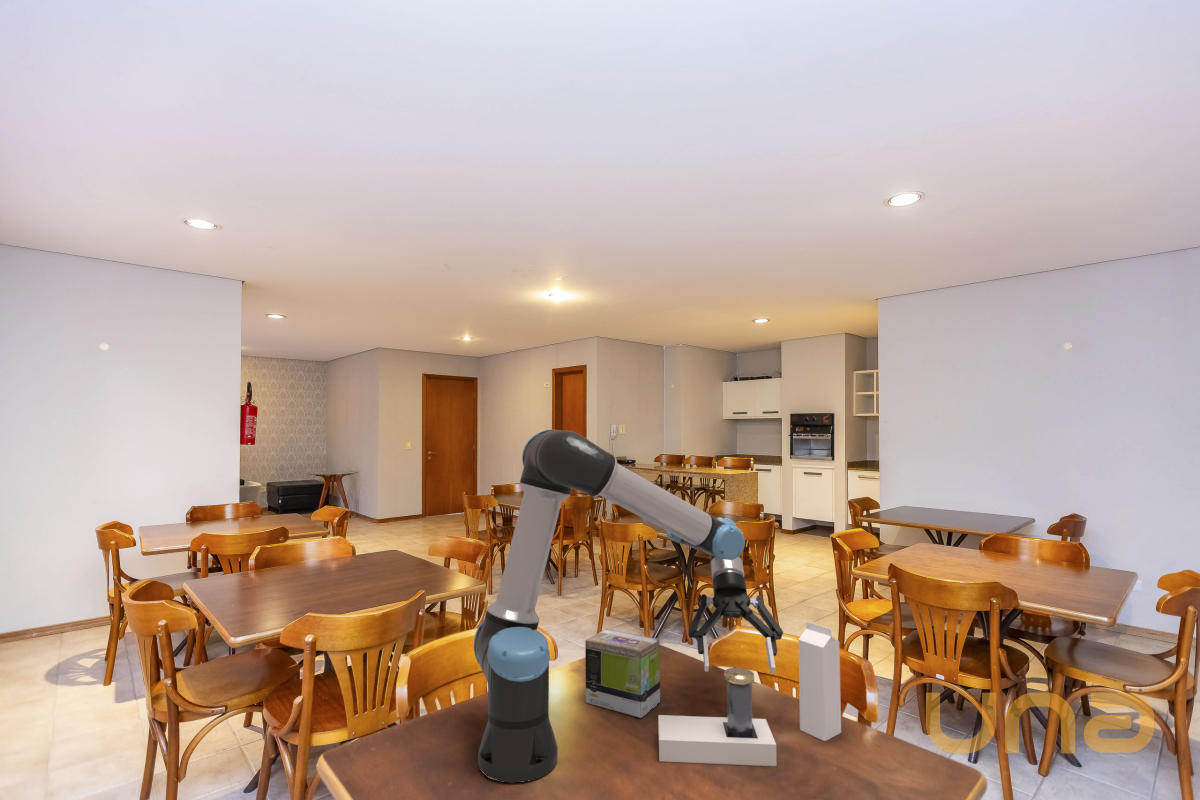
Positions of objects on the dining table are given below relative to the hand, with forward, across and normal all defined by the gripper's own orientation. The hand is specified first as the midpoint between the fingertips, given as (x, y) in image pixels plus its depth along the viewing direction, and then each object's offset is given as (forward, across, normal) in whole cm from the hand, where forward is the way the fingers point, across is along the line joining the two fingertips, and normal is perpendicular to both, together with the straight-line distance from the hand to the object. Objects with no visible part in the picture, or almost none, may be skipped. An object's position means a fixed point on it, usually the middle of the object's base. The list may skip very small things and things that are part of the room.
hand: (739, 669), depth 125 cm
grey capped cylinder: (+14, +1, -5) cm, 15 cm away
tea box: (+1, +25, -18) cm, 31 cm away
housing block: (+14, +6, -5) cm, 16 cm away
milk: (+8, -17, -11) cm, 22 cm away
